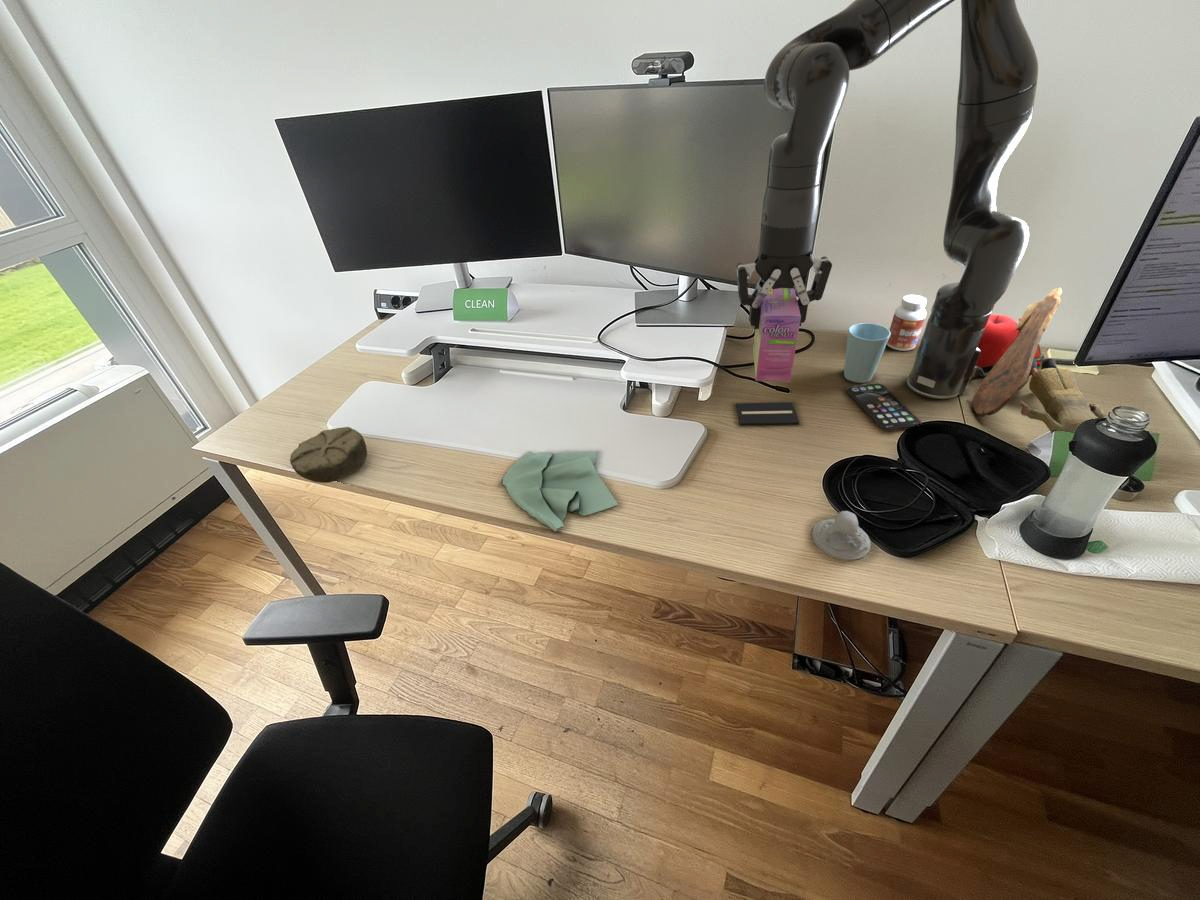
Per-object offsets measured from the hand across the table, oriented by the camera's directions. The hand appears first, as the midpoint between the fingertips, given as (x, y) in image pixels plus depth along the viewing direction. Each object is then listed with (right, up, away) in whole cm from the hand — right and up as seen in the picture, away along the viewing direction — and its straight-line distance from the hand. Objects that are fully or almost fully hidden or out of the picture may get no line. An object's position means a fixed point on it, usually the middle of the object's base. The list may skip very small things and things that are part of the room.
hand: (776, 325), depth 86 cm
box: (+1, -6, +5) cm, 8 cm away
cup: (+26, -5, +26) cm, 37 cm away
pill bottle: (+40, +3, +35) cm, 53 cm away
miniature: (+7, -34, -8) cm, 35 cm away
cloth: (-36, -27, +6) cm, 45 cm away
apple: (+52, -2, +26) cm, 58 cm away
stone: (-80, -19, +10) cm, 83 cm away
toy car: (+60, +2, +20) cm, 63 cm away
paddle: (+41, -14, +10) cm, 44 cm away
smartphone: (+26, -12, +17) cm, 33 cm away
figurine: (+54, -5, +13) cm, 56 cm away
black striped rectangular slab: (+4, -13, +18) cm, 23 cm away
